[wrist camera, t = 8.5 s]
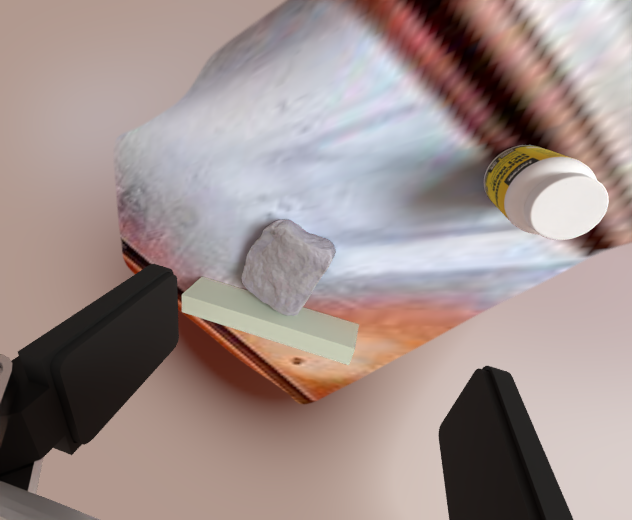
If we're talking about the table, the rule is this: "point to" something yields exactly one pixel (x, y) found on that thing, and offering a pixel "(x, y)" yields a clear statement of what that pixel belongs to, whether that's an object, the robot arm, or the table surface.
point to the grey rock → (286, 266)
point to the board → (271, 320)
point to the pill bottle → (545, 192)
